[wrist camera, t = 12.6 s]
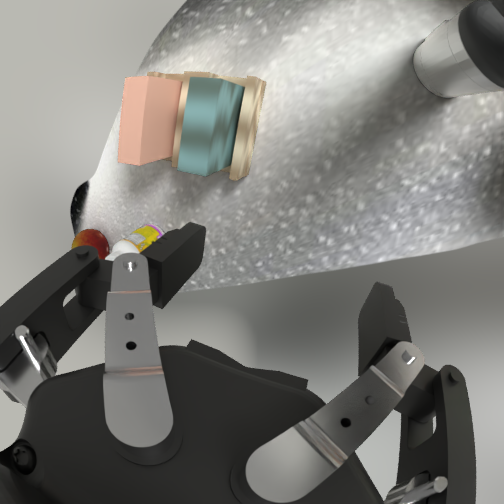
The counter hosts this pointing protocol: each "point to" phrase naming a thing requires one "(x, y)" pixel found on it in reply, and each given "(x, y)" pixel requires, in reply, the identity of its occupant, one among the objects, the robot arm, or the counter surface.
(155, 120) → the coral book
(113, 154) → the counter surface
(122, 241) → the supplement bottle
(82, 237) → the fruit
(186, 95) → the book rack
